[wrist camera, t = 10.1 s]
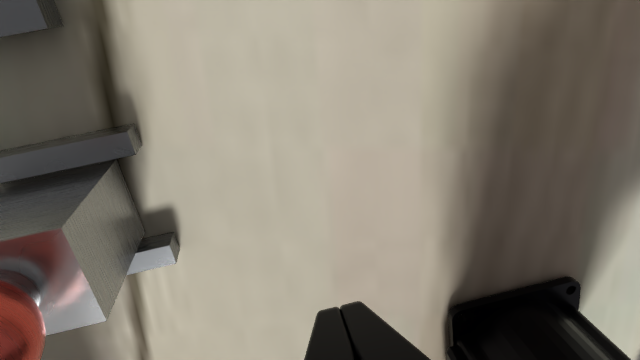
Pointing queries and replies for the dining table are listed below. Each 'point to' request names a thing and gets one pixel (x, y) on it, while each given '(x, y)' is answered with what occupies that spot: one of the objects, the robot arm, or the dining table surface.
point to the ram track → (84, 153)
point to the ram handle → (62, 253)
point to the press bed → (27, 16)
